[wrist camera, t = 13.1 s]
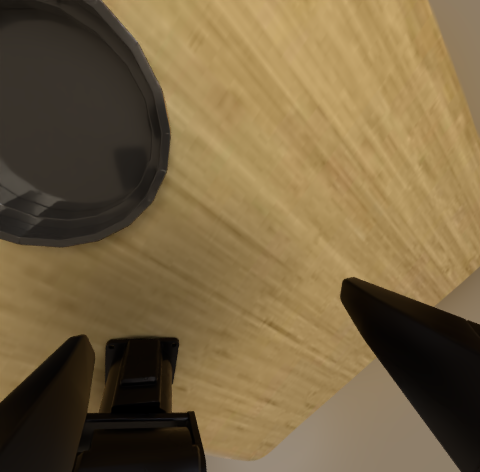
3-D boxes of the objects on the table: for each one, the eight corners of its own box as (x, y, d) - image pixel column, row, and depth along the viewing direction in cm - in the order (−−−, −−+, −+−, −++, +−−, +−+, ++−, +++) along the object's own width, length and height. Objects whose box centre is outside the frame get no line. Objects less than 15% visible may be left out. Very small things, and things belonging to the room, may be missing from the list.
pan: (161, 230, 20) (158, 254, 16) (-51, 209, 16) (-115, 235, 12) (181, 34, 15) (183, 8, 12) (-116, -65, 11) (-250, -151, 8)
